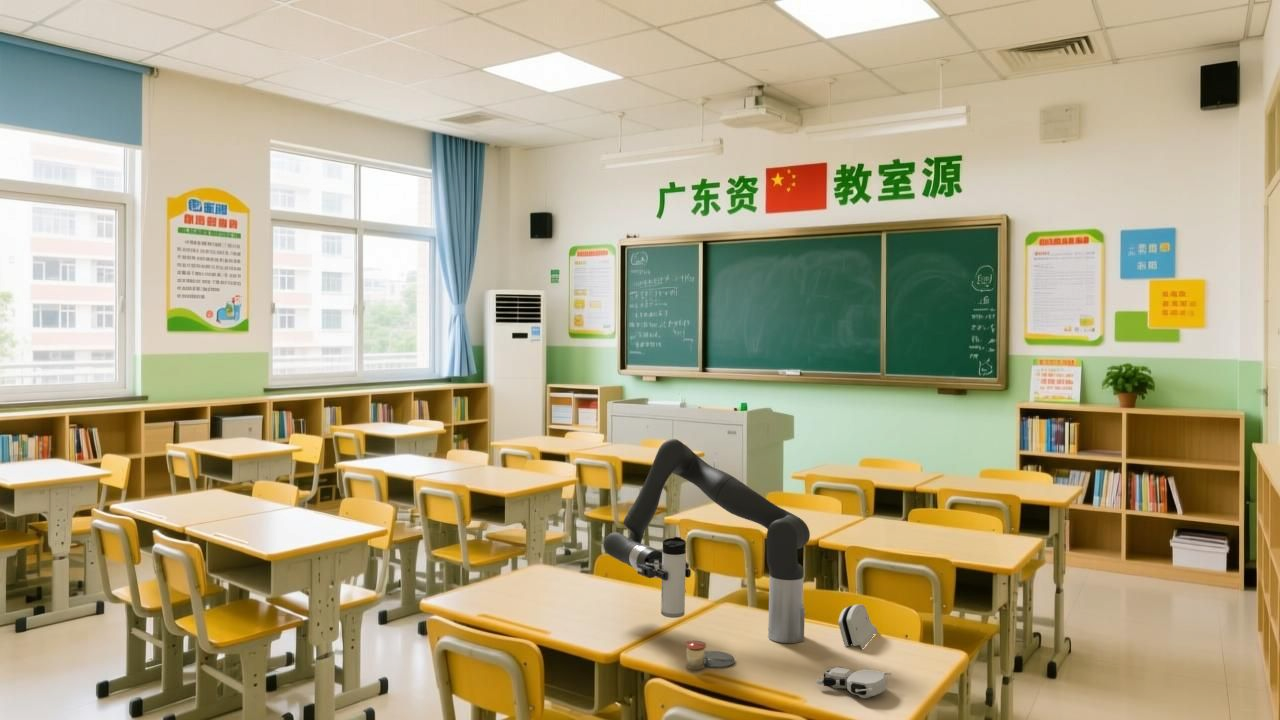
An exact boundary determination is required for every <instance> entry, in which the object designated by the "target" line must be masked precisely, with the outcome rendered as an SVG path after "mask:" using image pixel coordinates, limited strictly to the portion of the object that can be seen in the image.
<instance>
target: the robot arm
mask: <svg viewBox="0 0 1280 720" xmlns="http://www.w3.org/2000/svg"><path fill="white" fill-rule="evenodd" d="M672 474H673V475H676V476H679V477H680V478H682V479H684V480H686V481H688V482H690V483H691V484H694V486H696V487H697V488H698V489H699V490H700V491H702V493H703V494H705V496H707V497H708V498H709V499H710V501H712V502H714V503H715V504H716V505H718V506H719V507H721V508H722V509H723V510H725V511H726V512H728V513H730V514H731V515H733V516H736V517H739V518H741V519H745V520H747V521H750V522H753V523H756V524H758V525H760V526H762V527H764V528H766V529H767V531H766V563H767V567H768V569H769V570H768V571H769V580H768V581H769V585H768V587H769V588H768V590H769V592H768V626H767V631H768V633H767V637H768V638H769V639H770V640H771V641H773V642H776V643H782V644H796V643H800V642H805V619H806V618H805V617H806V616H805V614H806V613H805V612H806V607H805V605H804V604H803V603H804V567H803V566H802V564H800V563H799V561H798V560H799V559H798V549H801V548H803V547H804V546H805V545H807V544H808V542H809V541H810V536H811V534H810V533H811V532H810V529H809V527H808V525H807V523H806V522H805V521H804V520H803V519H802V518H800V517H799V516H797V515H795V514H794V513H792V512H790V511H787V510H786V509H783V508H781V507H779V506H778V505H776V504H774V503H773V502H771V501H770V500H768V499H766V498H765V497H763V496H762V495H761V494H759V493H758V492H756V491H755V490H754V489H752V488H750V487H749V486H747V485H746V484H745V483H744V482H742V481H741V480H740V479H738V478H736V477H734V476H733V475H731V474H729V473H727V472H725V471H724V470H721V469H718V468H716V467H714V466H711V465H710V464H709V463H707V462H706V461H704V460H703V459H702V458H700V456H698V455H697V454H696V453H695V452H694V451H693V450H692V449H691V448H690V447H689V446H688V445H686V444H685V443H684V442H682V441H680V440H679V439H675V438H669V439H667V440H665V441H664V442H663V443H662V444H661V445H660V446H659V448H658V450H657V452H656V455H655V457H654V460H653V463H652V465H651V467H650V469H649V472H648V474H647V477H646V479H645V481H644V483H643V485H642V488H641V490H640V492H639V493H638V496H637V497H636V498H635V501H634V503H632V505H631V507H630V509H629V510H628V512H627V514H626V516H625V517H624V518H623V519H624V520H623V524H624V527H626V529H628V530H629V537H627V536H625V535H623V534H622V533H621V532H617V531H615V532H611V533H609V534H608V535H606V537H605V539H604V541H603V549H604V552H605V553H606V554H607V555H609V556H610V557H612V558H614V559H616V560H618V561H619V562H621V563H623V564H626V565H628V566H630V567H632V568H634V570H636V571H637V575H640V576H642V577H645V578H648V579H652V578H653V579H654V578H655V579H660V580H661V581H662V580H664V581H666V580H668V573H667V572H666V571H664V570H662V551H660V550H659V549H656V548H654V547H651V546H649V545H646V544H645V545H644V544H643V543H642V541H643V538H644V534H645V531H646V529H647V528H648V526H649V525H650V523H651V521H652V519H653V518H654V516H655V514H656V512H657V509H658V506H659V503H660V500H661V496H662V493H663V490H664V487H665V485H666V483H667V481H668V479H669V478H670V476H671V475H672ZM689 566H690V564H689V562H687V561H686V571H685V578H688V579H689V578H691V575H692V571H691V568H689Z"/></svg>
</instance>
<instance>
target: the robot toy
mask: <svg viewBox="0 0 1280 720" xmlns="http://www.w3.org/2000/svg"><path fill="white" fill-rule="evenodd" d="M887 675H892V672H888V673H887V672H885V673H884V672H883V671H880V670H875V669H874V670H872V669H868V668H867V669H866V668H865V669H859V670H857V671H854V672H852V670H851V669H849V668H845V667H843V666H838V667H833V668H829V669H827V670H826V671H824V673H823V677H822V678H823V679H822V678H817V679H816V684H817V685H822V684H823V687H832V688H833V689H837V688H839V689H847V691H848V692H850V693H851V694H852V695H857V696H858V697H859V698H861V699H865V700H866V699H868V698H871V697H874V696H877V695H879V694H881V693H883V692H884V691H886V689H887V687H888V678H887Z"/></svg>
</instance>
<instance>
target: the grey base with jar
mask: <svg viewBox="0 0 1280 720" xmlns="http://www.w3.org/2000/svg"><path fill="white" fill-rule="evenodd" d="M685 647H686V662H685V663H686V668H687V669H690V670H696V671H698V670H702V669H704V668H709V669H725V668H729V667H732V666H734V664H735V657H734V655H732V654H731V653H727V652H724V651H719V650H706V649H705V648H707V644H706V642H704V641H702V640H698V639H695V640H693V639H691V640H687V641H686V642H685Z"/></svg>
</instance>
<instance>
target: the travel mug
mask: <svg viewBox="0 0 1280 720" xmlns="http://www.w3.org/2000/svg"><path fill="white" fill-rule="evenodd" d="M686 549H687V541H686V540H685V539H683V538H682V537H681V536H679V537H678V536H673V537H669V538H665V539H664V540H663V541H662V551H661V552H662V570H664V571H666V572H667V573H668V580H666V581H664V580H662V579H661V596H660V599H661V606H660V607H661V608H660V614H661V615H662V616H663V617H664V618H665V617H666V618H670V619H671V618H672V619H673V618H674V619H675V618H682V617H683V616H685V611H686V610H685V608H686V606H685V605H686V602H685V601H686V577H685V571H686V562H687V560H686V559H687V552H686V551H687V550H686Z"/></svg>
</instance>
